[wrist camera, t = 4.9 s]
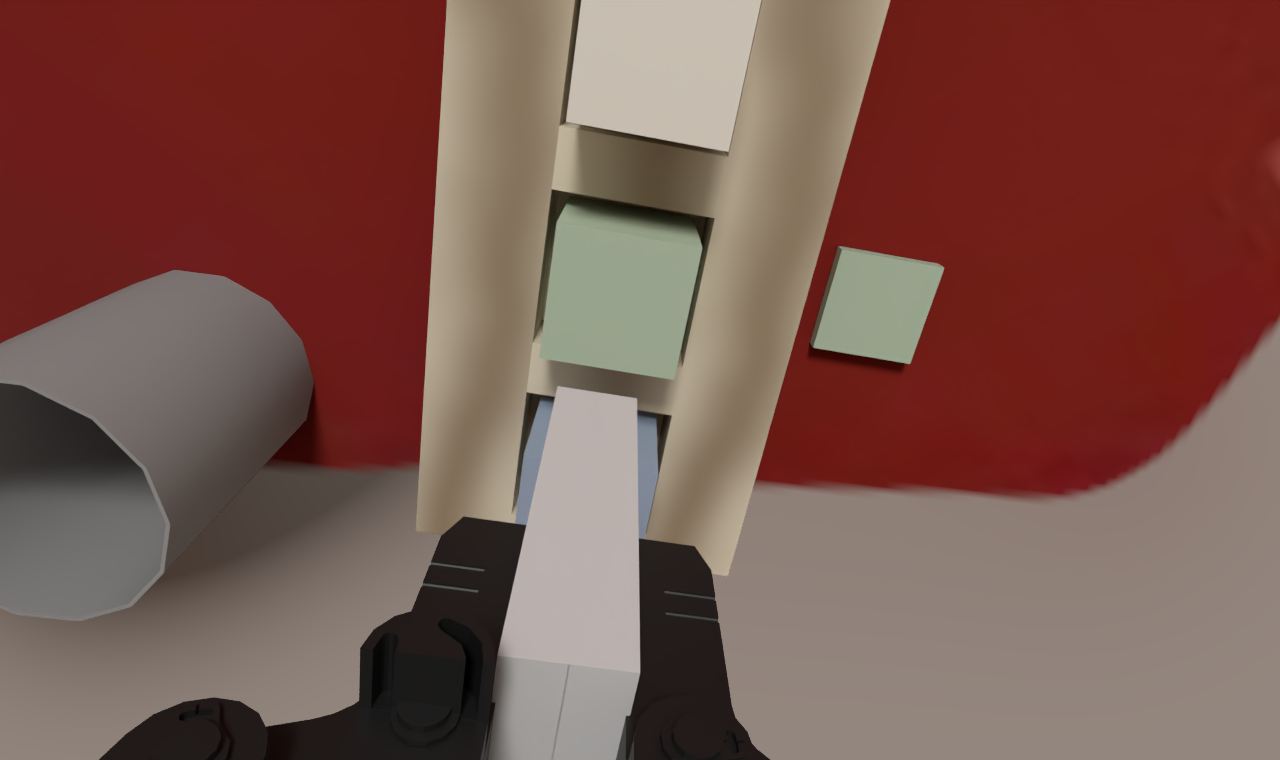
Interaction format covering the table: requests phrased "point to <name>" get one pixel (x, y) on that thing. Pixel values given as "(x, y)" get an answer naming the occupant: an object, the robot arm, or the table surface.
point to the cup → (135, 435)
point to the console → (642, 178)
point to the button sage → (620, 287)
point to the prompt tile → (875, 304)
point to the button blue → (645, 463)
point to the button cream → (662, 67)
